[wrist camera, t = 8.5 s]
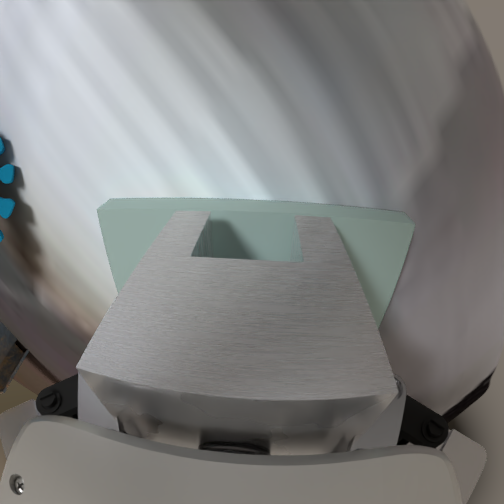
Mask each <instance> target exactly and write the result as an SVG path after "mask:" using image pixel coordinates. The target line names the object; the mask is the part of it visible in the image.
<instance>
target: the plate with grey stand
mask: <svg viewBox="0 0 504 504" xmlns="http://www.w3.org/2000/svg"><path fill="white" fill-rule="evenodd" d="M176 211H211V223H212V244H213V258H229V259H249V260H269V261H290V255H291V246H292V236H293V227H294V217H295V215H302V216H317V217H330V218H331V220H332V222H333V224H334V226H335V228H336V230H337V232H338V234H339V237H340V239H341V241H342V243H343V245H344V247H345V250H346V252H347V254H348V256H349V259H350V261H351V263H352V266H353V268H354V270H355V273H356V275H357V277H358V280H359V282H360V285H361V287H362V289H363V292H364V294H365V297H366V299H367V302H368V304H369V307H370V310H371V312H372V315H373V318H374V320H375V323H376V326H377V328H379V326H380V324H381V321H382V319H383V317H384V314H385V312H386V309H387V307H388V305H389V302H390V299H391V297H392V294H393V292H394V289H395V286H396V284H397V281H398V278H399V275H400V273H401V270H402V267H403V264H404V261H405V258H406V255H407V252H408V249H409V245H410V242H411V239H412V235H413V232H414V228H415V225H416V224H415V223H414V222H413V221H412V220H411V219H410V218H409V217H408V216H407V215H406V214H405V213H404V212H398V211H389V210H380V209H371V208H361V207H351V206H340V205H328V204H315V203H301V202H285V201H267V200H245V199H214V198H122V199H109V200H108V201H107V202H106V203H104V204H103V205H102V206H100V207H99V208H98V209H97V213H98V218H99V223H100V227H101V232H102V236H103V240H104V244H105V249H106V252H107V256H108V260H109V264H110V267H111V271H112V275H113V278H114V281H115V285H116V288H117V291H118V294H119V292H120V291H121V289H122V288H123V286H124V284H125V283H126V281H127V280H128V278H129V277H130V275H131V274H132V272H133V271H134V269H135V268H136V266H137V265H138V263H139V262H140V260H141V259H142V257H143V256H144V255H145V253H146V252H147V250H148V249H149V247H150V246H151V245H152V243H153V242H154V240H155V239H156V237H157V236H158V235H159V233H160V232H161V231H162V229H163V228H164V226H165V225H166V224H167V222H168V221H169V220H170V218H171V217H172V216H173V214H174V213H175V212H176Z"/></svg>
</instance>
